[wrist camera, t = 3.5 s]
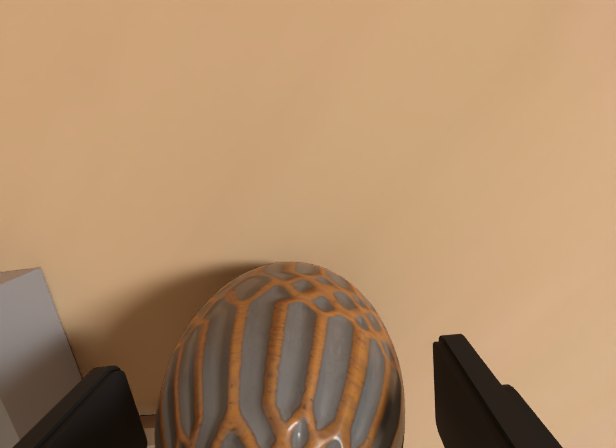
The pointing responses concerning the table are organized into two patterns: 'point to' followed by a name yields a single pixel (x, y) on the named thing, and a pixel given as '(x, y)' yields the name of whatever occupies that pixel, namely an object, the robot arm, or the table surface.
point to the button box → (30, 354)
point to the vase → (283, 368)
